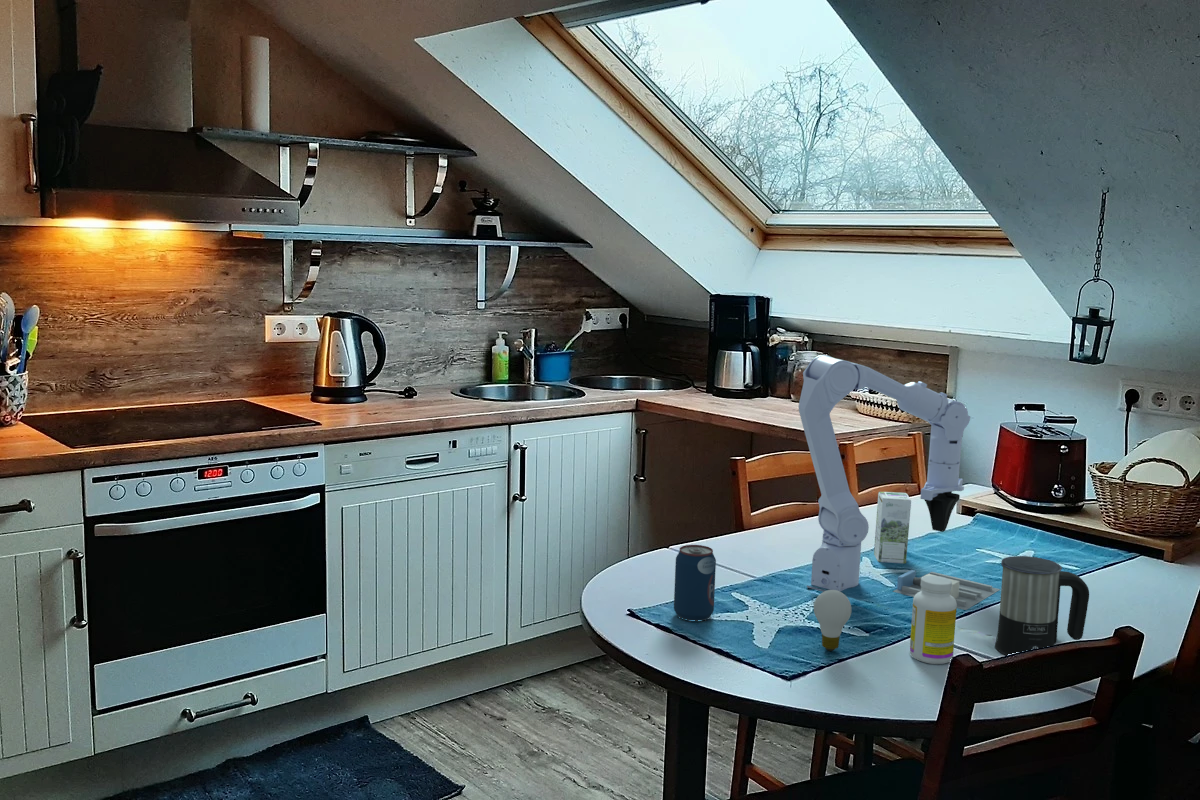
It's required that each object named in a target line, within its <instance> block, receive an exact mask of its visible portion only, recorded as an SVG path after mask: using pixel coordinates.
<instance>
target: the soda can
mask: <svg viewBox="0 0 1200 800" xmlns="http://www.w3.org/2000/svg"><path fill="white" fill-rule="evenodd" d="M716 562H717V559H716V557H715V554H714V550H713V548H711V547H710V546H708V545H707V546H706V545H702V544H686V545H682V546H681V547H679V551H678V553H677V555H676V557H675V567H674V568H675V569H674V571H675V573H674V577H675V578H674V589H673V590H674V591H673V593H674V596H673V610H674V611H675V612H674V613H675V614H676V615H677V617H678V616H679V617H680V618H683V619H687V620H695V621H698V620H705V621H707V620H706V619H708V618H709V617H711V616H712V614H713V613H714V611H715V610H714V609H715V591H716V590H715V589H716V588H715V587H716V569H717V563H716ZM679 617H678V618H679ZM680 618H679V619H680ZM709 619H710V618H709ZM709 619H708V620H709Z"/></svg>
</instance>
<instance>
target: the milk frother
mask: <svg viewBox="0 0 1200 800" xmlns="http://www.w3.org/2000/svg"><path fill="white" fill-rule="evenodd" d="M1000 561H1001V563H1000V564H1001V566H1002V576H1001V588H1000V604H999V615H998V627H997V634H996V635H997V636H996V642H995V643H994V648H995V649H996V650H997V651H998V652H999V653H1001V654H1002V655H1005V656H1007V655H1008V654H1012V653H1016V652H1022V651H1026V650H1031V649H1037V648H1043V647H1047V646H1053V645H1054V646H1055V645H1056V644H1057V639H1058V625H1059V623H1058V622H1059V613H1060V612H1059V611H1060V598H1061V587H1070V588H1071V598H1070V599H1071V600H1070V605H1069V606H1070V607H1069V614H1068V620H1067V628H1066V633H1067V634H1068V636H1069V637H1070V638H1071V639H1072V640H1074V641H1080V640H1081V639H1082V638H1083V636H1084V630H1085V625H1086V620H1087V619H1086V618H1087V612H1088V607H1089V600H1090V590H1089V587H1088V585H1087V584H1086V581H1084V580H1083V579H1082V577H1080V576H1079V575H1077V574H1075V573H1073V572H1071V571H1066V570H1065V571H1064V570H1063V566H1061V564H1059V563H1057V562H1056V561H1053V560H1050V559H1047V558H1041V557H1035V556H1028V555H1027V556H1026V555H1025V556H1024V555H1015V556H1007V557H1004V558H1002V559H1001V560H1000ZM1062 570H1063V571H1062Z"/></svg>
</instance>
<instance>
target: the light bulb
mask: <svg viewBox="0 0 1200 800" xmlns="http://www.w3.org/2000/svg"><path fill="white" fill-rule="evenodd" d="M813 611H814V615H815V618H816V620H817V622H818V624H819V627H820V632H821V646H822V647H823V648H825V650H826V651H828V652H833V651H834V650H836V649H838V648H839V645H840V637H841V634H842V630H843V628H844V627H845V626H846V623H847V622H848V621H849V619H850V618H851V615H852V605H851V601H850V600H849V598H848V597H847V595H846V594H844V593H843V592H842V591H837V590H830V589H826V591H824V592H823V591H821V593H819V594H818V596H817V597H816V599H815V600H814V604H813Z"/></svg>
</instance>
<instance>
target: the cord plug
mask: <svg viewBox="0 0 1200 800" xmlns="http://www.w3.org/2000/svg"><path fill="white" fill-rule="evenodd" d="M926 574H927V575H926ZM926 574H924V575H925V576H936V575H931V574H928V573H926ZM924 575H922V576H923V577H924ZM950 580H951V581H952V589H951V591H950V595H951V596H953V597H954V598H957V597H958V595H959V583H960V581H957V580H952V579H950ZM913 584H914V585H918V586H921V585H920V584H921V578H920V577H917V576H915V577H914V579H913ZM921 590H922V588H921Z"/></svg>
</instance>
